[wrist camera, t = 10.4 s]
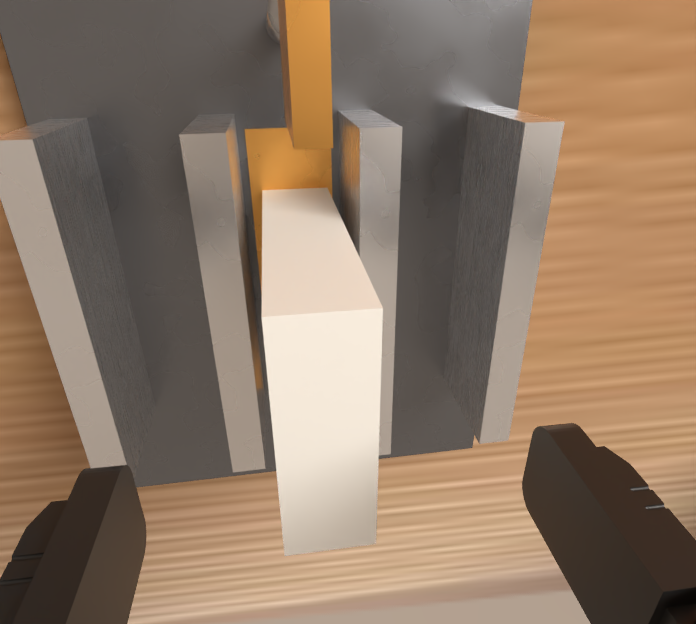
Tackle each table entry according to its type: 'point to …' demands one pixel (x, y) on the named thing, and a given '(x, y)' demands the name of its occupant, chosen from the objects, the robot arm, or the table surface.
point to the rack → (246, 209)
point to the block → (320, 372)
